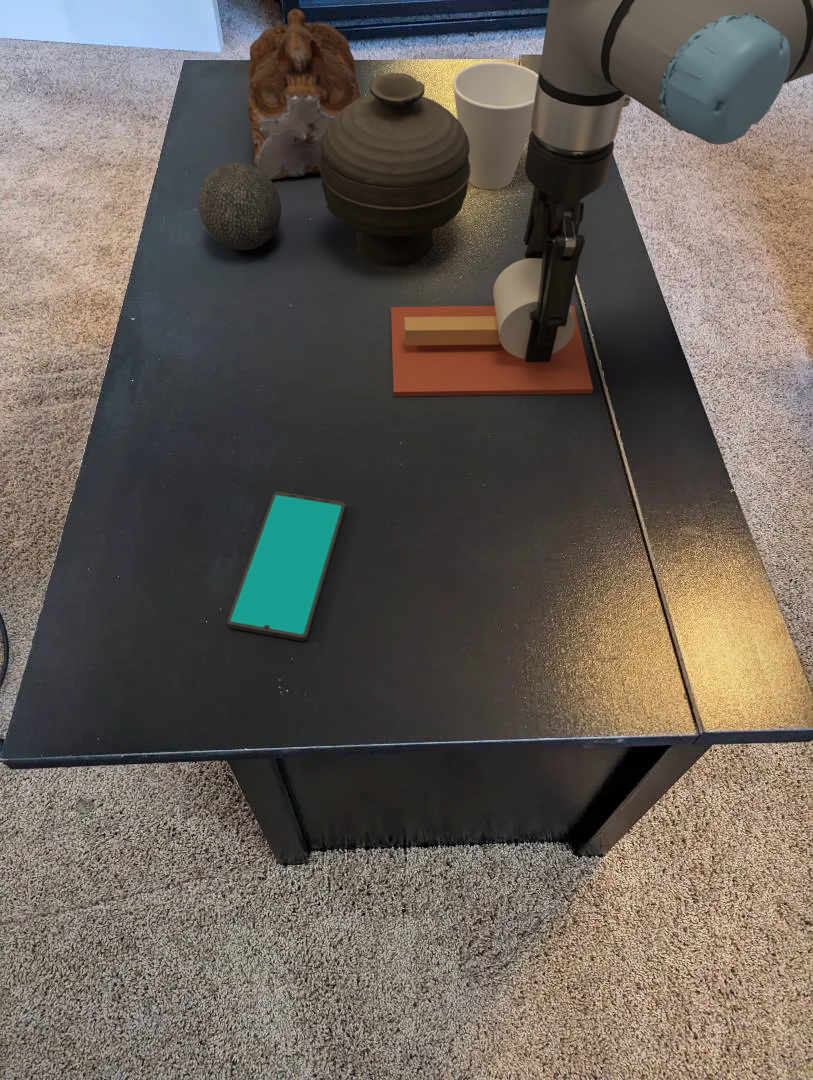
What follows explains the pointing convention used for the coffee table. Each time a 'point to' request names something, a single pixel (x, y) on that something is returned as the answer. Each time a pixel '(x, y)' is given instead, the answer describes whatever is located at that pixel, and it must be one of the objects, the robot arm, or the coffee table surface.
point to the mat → (480, 363)
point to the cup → (495, 118)
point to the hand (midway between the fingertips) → (533, 335)
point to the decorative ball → (239, 206)
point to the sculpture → (297, 93)
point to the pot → (395, 169)
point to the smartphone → (287, 566)
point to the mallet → (509, 325)
